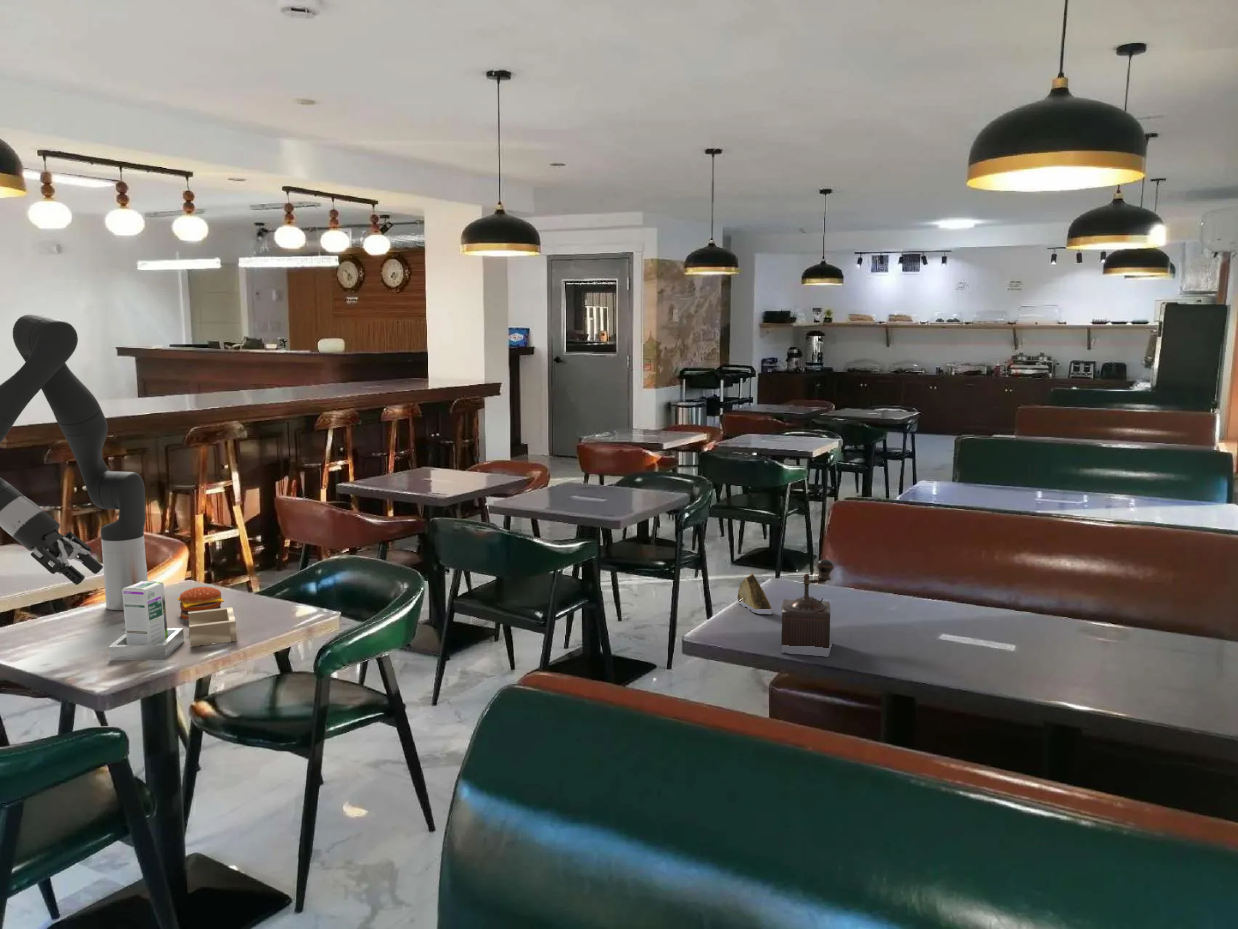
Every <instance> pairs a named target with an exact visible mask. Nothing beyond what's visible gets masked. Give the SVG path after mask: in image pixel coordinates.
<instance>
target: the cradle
mask: <svg viewBox="0 0 1238 929" xmlns="http://www.w3.org/2000/svg"><path fill="white" fill-rule="evenodd" d="M234 612H235V611H234V609H233V606H230V607H221V608H220V609H211V610H202V611H194V612H188V617H189V620H188V631H189V632H188V633H189V642H190V644H189V645H190V646H195V647H201V646H200V645H203V646H208V645H207V644H211V645H213V644H212V643H219V644H225V642H226V643H232V642H231V641H234V642H237V640H238V638H237V625H236V624H237V622H236V617H235V613H234ZM205 644H206V645H205Z"/></svg>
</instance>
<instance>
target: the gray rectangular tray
mask: <svg viewBox="0 0 1238 929" xmlns="http://www.w3.org/2000/svg"><path fill="white" fill-rule="evenodd" d="M167 631H168V638H167V639H166V640H165V641H164V642H163V643H162V644H134V645H127V639H126V632H125V633H124V634H123V635H122V636H119V638H118V639H116V640H115V641H114V642H113V643H111V644H110V645H109V646H108V656H109V661H110V662H113V661H141V660H140V659H152V660H166V659H167V658H169V656H171V655H172V654H173V653H174V652H175V651H176V650H177V649H178V648H179V647H180V646H181V645H182V644H183V643H184V642H183V641H185V639H184V638H185V635H184V627H180V628H179V627H177V628H175V627H173V628H172V627H171V628H170V627H167ZM182 642H183V643H182ZM181 643H182V644H181ZM180 644H181V645H180ZM179 645H180V646H179ZM178 646H179V647H178ZM177 647H178V648H177ZM176 648H177V649H176ZM175 649H176V650H175ZM174 650H175V651H174ZM173 651H174V652H173ZM172 652H173V653H172ZM171 653H172V654H171Z"/></svg>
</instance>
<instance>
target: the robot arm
mask: <svg viewBox="0 0 1238 929" xmlns="http://www.w3.org/2000/svg"><path fill="white" fill-rule="evenodd" d="M12 338H13V343H14V345H15V348H16V349H17V351H18V353H19V355H20V356H21V358H22V359H23V361H24V364H23V365H22V366H21V367H20V368H19V369H18V370H17V371H16V372H15V373H14V374H13V375H12V376H10V377H9V378H8V379H6V380H5V381H4V382H2V383H1V384H0V444H1V443H3V441H4V439H5V437H7V435H8V434H9V432H10V430H11V429H12V427H13V426H14V424H15V423H16V422H17V420H18V418H19V417H20V415H21V414H22V412H23V411H24V410H25V408H26V407H27V406H28V404H29V403H30V402H31V400H32V399H34V397H35V396H36V395H37V394H38V393H39V392H40V391H42V393H43V395H44V397H45V399H46V402H47V403H48V405H49V407H50V409H51V411H52V413H53V416H54V418H55V420H56V422H57V425H58V426H59V429H60V430H61V433H62V434H63V436H64V438H65V440H66V442H67V443H68V447H69V448H70V451H71V452H72V454H73V457H74V458H75V460H76V463H77V466H78V469H79V472H80V474H81V477H82V479H83V483H84V485H85V488H86V491H87V494H88V496H89V498H90V501H91V502H92V503H93V505H94V506H95V507H97V508H99V509H102V510H117V511H118V510H119V511H118V519H117V520H116V521H113V522H111V523H107V524H105V525H103V526H101V528H100V538H101V539H100V541H101V551H102V553H101V555H102V564H101V563H100V562H99V561H97V560H96V559H95V558H94V557H93V556H92V555H91V554H92V553H91V552H92V550H93V549H92V547H90V546H89V545H88V544H87V543H85V542H84V541H83V540H82V539H80V538H79V537H78V536H77V535H76V534H74V533H73V532H72V531H68V532H67V533H66V534H64V535H63V534H61V532H59V529H60V527H61V525H60V523H59V522H58V521H57V520H55V519H54V518H53V517H52V516H51V515H50V514H48V513H47V512H46V511H45V510H44V509H42V508H41V507H40V506H39V505H38V504H37V503H35V502H34V501H32V500H31V499H30V498H28V497H27V496H25V495H24V494H23V493H21V491H19V490H18V489H17V488H15V486H13V485H12V484H11V483H9V482H7V480H5V479H4V478H1V477H0V528H2V530H3V531H5V532H6V533H7V534H9V536H11V537H12V538H13V539H15V541H17V542H18V543H19V544H21V545H22V546H23V548H25V549H27V550H28V551H30V556H31V557H32V558H33V559H34V560H35V561H36V562H38V563H39V564H40V565H41V566H42V567H43V568H44V569H45V570H47V571H48V572H49V573H50V574H52V575H56V573H57V574H59V575H61V574H62V575H63V576H64V577H66V578H67V580H70V581H71V583H73V584H74V585H76V586H77V585H80V584H81V583H82V582H83V581H84V580H85V578H86V577H85V575H84V574H82V572H80V571H79V570H78V569H77V568H75V566H73V565H71V564H70V562H69V561H70V560H71V561H72V560H74V561H77V562H80V563H81V564H82V565H83V566H85V568H86V569H88V570H89V571H90V572H91V573H92V574H93V575H97V574H99V573H100V571H102V570H103V577H104V578H103V581H104V593H105V594H104V595H105V596H104V597H105V606H106V607H107V608H106V609H107V610H110V611H124V606H123V595H122V589H123V588H126V587H129V586H132V585H134V584H137V583H139V582H141V581H149V580H148V567H147V566H148V564H147V560H146V547H145V531H144V530H145V524H146V488H145V483H144V480H143V478H142V476H141V475H140V474H139V473H138V472H135V471H118V470H117V471H111V470H110V469H109V468H108V467H107V464H106V462H105V460H104V457H103V448H104V445H105V441H106V439H107V435H108V425H109V424H108V422H107V419H106V417H105V414H104V413H103V410H102V408H101V405H100V403H99V402H98V400H97V399H96V397H95V395H94V394H93V392H92V391H90V389H88V387H86V385H85V384H84V383H83V382H82V381H81V380H80V379H79V378H78V376H77V375H76V374H74V372H73V371H72V369H70V368H69V366H68V365H67V363H66V362H68V360H69V359H70V358H71V357H72V355H73V354H74V352H75V350H76V349H77V346H78V340H79V338H78V333H77V330H76V329H75V327H74V326H73V325H72V324H71V323H69V322H68V321H64V320H62V319H58V318H55V317H50V316H45V315H42V314H32V313H31V314H29V313H28V314H24V315H21V316H20V317H19V318H18V319H17V320H15V323H14V324H13V328H12Z"/></svg>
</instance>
